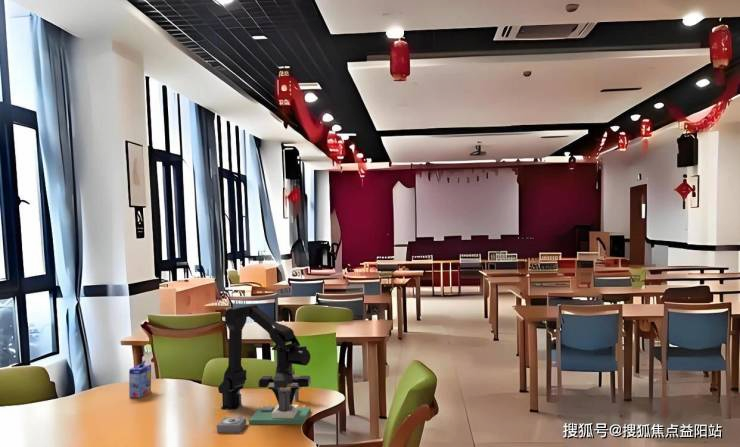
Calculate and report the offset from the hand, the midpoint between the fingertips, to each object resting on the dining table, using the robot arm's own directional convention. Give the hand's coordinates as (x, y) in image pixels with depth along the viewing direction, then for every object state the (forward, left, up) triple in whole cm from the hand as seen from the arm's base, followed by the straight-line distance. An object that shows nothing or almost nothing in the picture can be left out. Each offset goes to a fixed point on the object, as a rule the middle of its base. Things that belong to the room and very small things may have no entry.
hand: (285, 404), depth 207 cm
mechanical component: (0, +20, -5) cm, 21 cm away
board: (-2, 0, -5) cm, 5 cm away
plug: (0, 0, -2) cm, 3 cm away
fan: (-17, -11, -5) cm, 21 cm away
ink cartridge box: (-71, +30, -5) cm, 77 cm away
